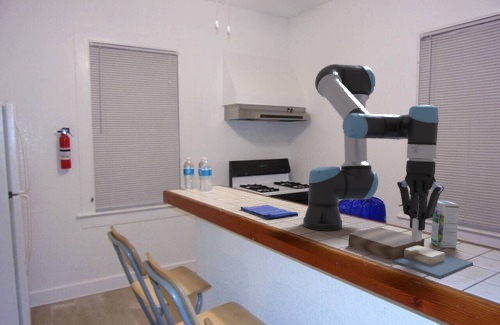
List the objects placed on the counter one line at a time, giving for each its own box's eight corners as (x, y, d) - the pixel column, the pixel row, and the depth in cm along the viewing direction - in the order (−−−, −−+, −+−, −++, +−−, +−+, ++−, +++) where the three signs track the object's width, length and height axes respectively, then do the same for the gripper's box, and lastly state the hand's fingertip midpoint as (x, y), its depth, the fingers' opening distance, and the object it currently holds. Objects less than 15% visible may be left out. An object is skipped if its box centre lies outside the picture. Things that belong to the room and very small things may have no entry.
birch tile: (403, 256, 99) (404, 248, 99) (417, 252, 103) (417, 245, 103) (431, 265, 92) (431, 257, 92) (444, 260, 96) (444, 252, 96)
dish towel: (268, 221, 142) (268, 214, 142) (239, 210, 162) (239, 204, 162) (299, 217, 152) (299, 210, 151) (268, 207, 171) (268, 201, 171)
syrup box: (429, 242, 115) (432, 200, 114) (447, 242, 115) (450, 200, 114) (438, 247, 110) (441, 203, 109) (457, 248, 110) (460, 203, 109)
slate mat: (392, 262, 96) (392, 260, 96) (426, 251, 106) (427, 249, 106) (439, 278, 85) (440, 275, 85) (472, 264, 95) (473, 262, 95)
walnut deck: (348, 245, 110) (348, 233, 110) (378, 238, 119) (379, 227, 119) (393, 260, 97) (394, 247, 97) (423, 251, 106) (424, 238, 105)
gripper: (392, 158, 101) (388, 236, 103) (437, 161, 90) (432, 248, 92) (407, 158, 105) (403, 233, 107) (451, 161, 94) (446, 244, 96)
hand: (416, 240), depth 99 cm, fingers closed
